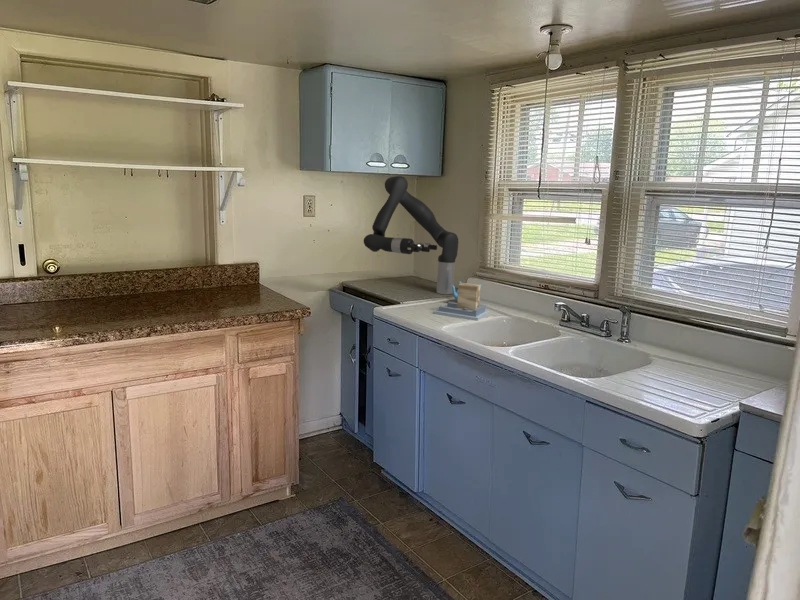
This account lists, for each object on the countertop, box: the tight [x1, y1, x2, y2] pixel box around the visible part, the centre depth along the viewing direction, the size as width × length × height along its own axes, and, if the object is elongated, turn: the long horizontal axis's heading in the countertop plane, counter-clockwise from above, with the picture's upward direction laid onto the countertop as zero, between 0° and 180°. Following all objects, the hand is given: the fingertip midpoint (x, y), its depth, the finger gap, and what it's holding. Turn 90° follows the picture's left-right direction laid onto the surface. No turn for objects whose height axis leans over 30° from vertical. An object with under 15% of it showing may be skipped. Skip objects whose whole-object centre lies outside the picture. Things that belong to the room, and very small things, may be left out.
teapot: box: [451, 280, 483, 303], centre depth 296 cm, size 13×13×10 cm
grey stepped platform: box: [432, 301, 490, 322], centre depth 276 cm, size 16×22×4 cm
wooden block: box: [456, 282, 481, 310], centre depth 273 cm, size 4×9×13 cm, turn 63°
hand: (433, 248), depth 278 cm, fingers open, 8 cm apart
